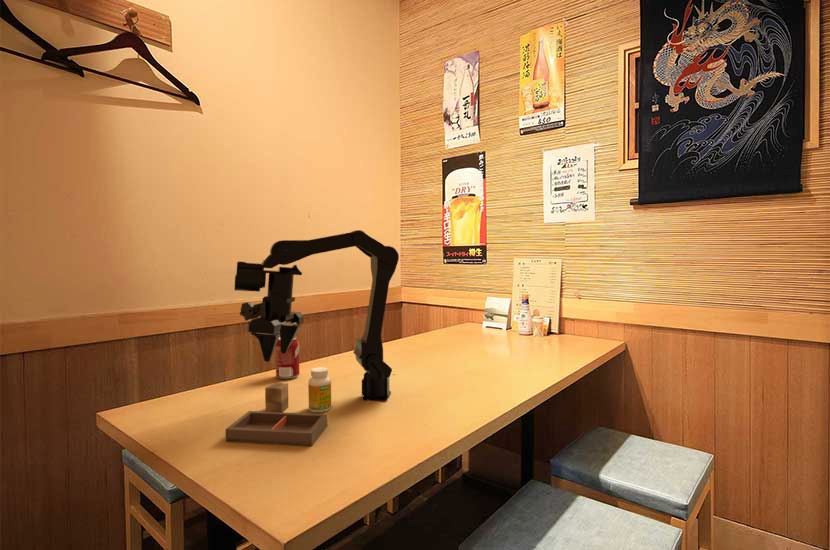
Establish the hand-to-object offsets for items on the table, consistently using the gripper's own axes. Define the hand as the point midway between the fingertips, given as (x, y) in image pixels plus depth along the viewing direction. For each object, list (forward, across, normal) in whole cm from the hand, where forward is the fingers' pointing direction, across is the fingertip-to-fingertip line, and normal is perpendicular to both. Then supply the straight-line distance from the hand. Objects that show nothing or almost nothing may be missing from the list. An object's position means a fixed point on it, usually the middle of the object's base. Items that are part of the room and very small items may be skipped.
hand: (275, 357), depth 109 cm
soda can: (+12, -26, -7) cm, 30 cm away
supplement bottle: (+12, -2, +11) cm, 17 cm away
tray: (+13, +13, +8) cm, 20 cm away
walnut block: (+13, 0, +1) cm, 13 cm away
